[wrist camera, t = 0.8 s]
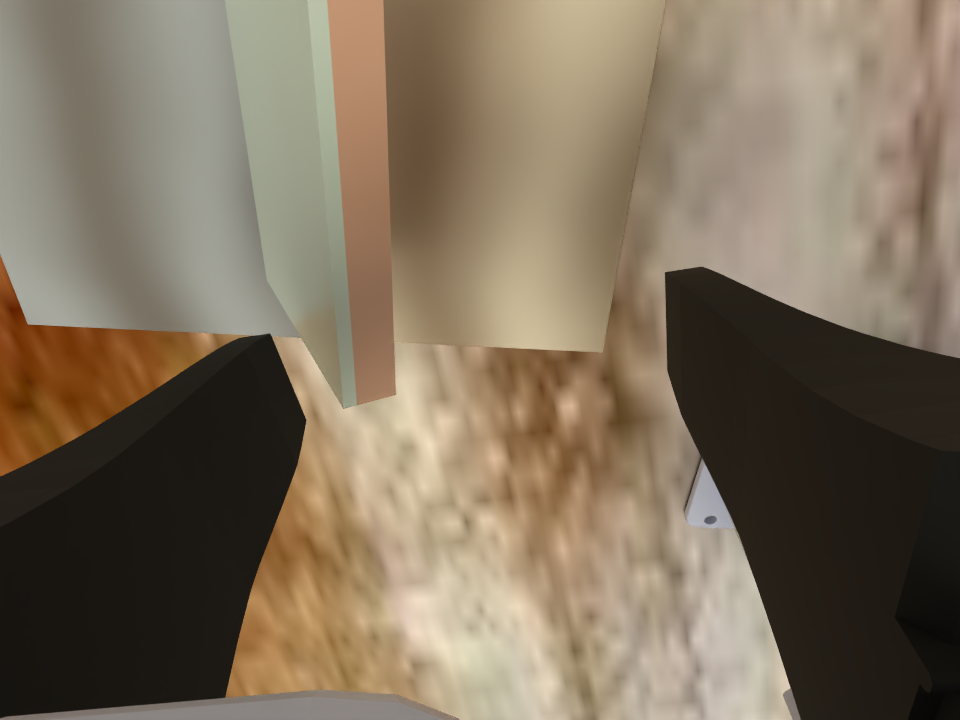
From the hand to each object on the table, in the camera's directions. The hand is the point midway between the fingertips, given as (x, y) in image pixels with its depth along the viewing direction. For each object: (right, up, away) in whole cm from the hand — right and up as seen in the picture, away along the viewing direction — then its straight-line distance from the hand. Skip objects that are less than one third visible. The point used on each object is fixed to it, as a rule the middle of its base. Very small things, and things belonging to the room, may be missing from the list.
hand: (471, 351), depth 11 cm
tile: (-3, +5, +3) cm, 6 cm away
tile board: (-5, +7, +7) cm, 11 cm away
